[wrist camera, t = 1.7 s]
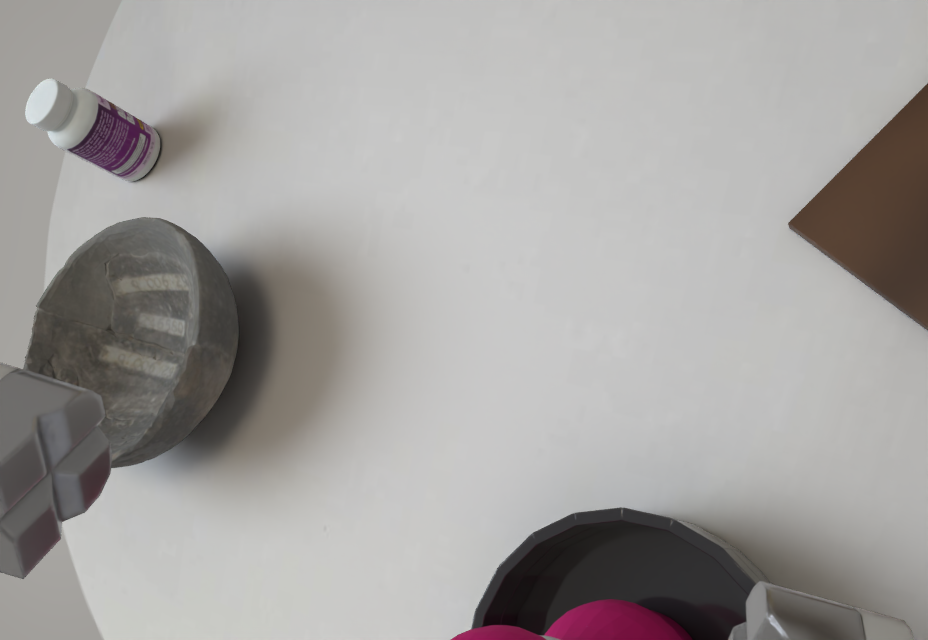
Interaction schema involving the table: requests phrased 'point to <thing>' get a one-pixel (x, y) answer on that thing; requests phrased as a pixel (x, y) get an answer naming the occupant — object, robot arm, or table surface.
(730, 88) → the table surface
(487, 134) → the table surface
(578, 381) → the table surface
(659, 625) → the pepper mill
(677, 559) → the pan
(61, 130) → the pill bottle
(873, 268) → the trivet
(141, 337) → the bowl
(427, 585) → the table surface
